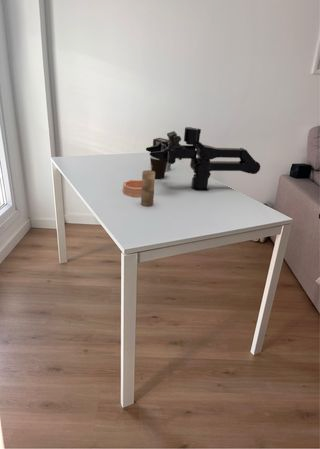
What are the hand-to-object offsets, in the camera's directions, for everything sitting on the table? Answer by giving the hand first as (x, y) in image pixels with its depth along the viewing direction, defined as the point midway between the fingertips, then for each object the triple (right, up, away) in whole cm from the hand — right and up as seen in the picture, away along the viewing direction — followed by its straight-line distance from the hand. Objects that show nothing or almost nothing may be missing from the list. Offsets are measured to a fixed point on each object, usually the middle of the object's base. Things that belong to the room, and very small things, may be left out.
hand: (147, 151), depth 137 cm
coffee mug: (+4, -7, +25) cm, 26 cm away
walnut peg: (0, -23, -10) cm, 25 cm away
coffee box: (+6, -2, +37) cm, 38 cm away
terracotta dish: (-5, -17, +2) cm, 18 cm away
